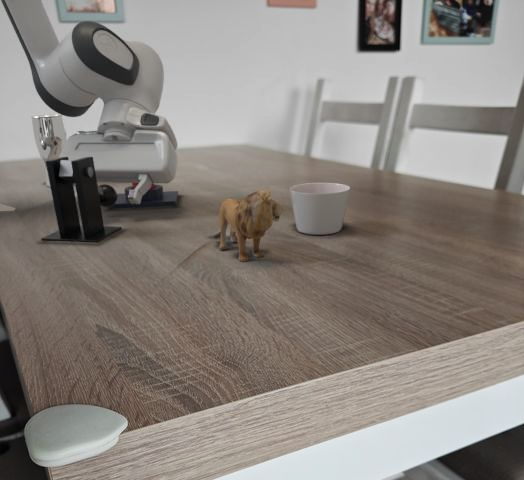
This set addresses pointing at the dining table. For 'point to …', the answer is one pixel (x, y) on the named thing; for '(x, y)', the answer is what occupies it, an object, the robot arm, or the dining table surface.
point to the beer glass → (49, 137)
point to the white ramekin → (319, 207)
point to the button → (138, 183)
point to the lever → (105, 191)
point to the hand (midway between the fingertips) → (106, 201)
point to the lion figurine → (248, 220)
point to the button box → (148, 198)
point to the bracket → (67, 205)
